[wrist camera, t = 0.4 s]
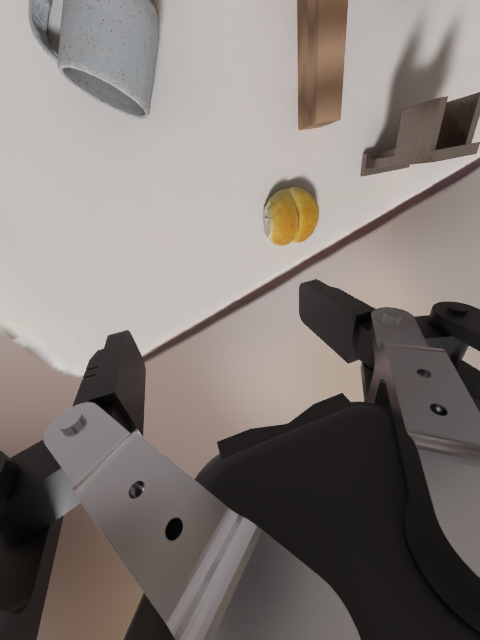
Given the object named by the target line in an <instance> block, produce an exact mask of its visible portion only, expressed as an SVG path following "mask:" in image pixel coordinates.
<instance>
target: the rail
mask: <svg viewBox="0 0 480 640" xmlns="http://www.w3.org/2000/svg"><path fill="white" fill-rule="evenodd" d="M347 8H348V0H297V20H298V126H299V130H304V129H311V128H318V127H322V126H325V125H328V124H330V123H333V122H336V121H338V120H340V118H341V103H342V87H343V71H344V56H345V40H346V24H347Z"/></svg>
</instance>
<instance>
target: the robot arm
mask: <svg viewBox="0 0 480 640" xmlns="http://www.w3.org/2000/svg"><path fill="white" fill-rule="evenodd" d="M299 314H300V317H301V320H302V321H303V323H304V324H305V325H306V326H308V327H309V328H310V329H311V330H312V331H313V332H314V333H315V334H316V335H317V336H319V337H320V338H321V339H322V340H323V341H324V342H325V343H326V344H327V345H328V346H329V347H331V348H332V349H333V350H334V351H335V352H336V353H337V354H338V355H339V356H341V357H342V358H343V359H344V360H345V361H346V362H347V363H351V362H354V361H356V360H361V361H362V363H361V375H362V385H363V394H364V402H350V401H349V400H348V399H347V398H346V397H345V396H344V394H343V393H341V394H339V395H336V396H333V397H331V398H329V399H326V400H323V401H321V402H318V403H316V404H314V405H312V406H311V407H310V408H308V409H307V410H306V411H304V412H303V413H302V414H300V415H299V416H298V417H297V418H295V419H294V420H292V421H291V422H290V423H288V424H284V425H277V426H269V427H262V428H254V429H249V430H247V431H244V432H241V433H239V434H237V435H234V436H232V437H229V438H227V439H224V440H221V441H219V442H217V444H218V448H219V452H220V453H219V454H218V455H217V456H215V457H214V458H213V459H212V460H211V461H210V462H209V463H208V464H206V466H205V467H204V468H203V469H202V470H201V471H200V473H199V474H198V475H197V477H196V478H195V479H193V478H192V477H191V476H189V475H188V474H187V473H186V472H185V471H183V470H182V469H181V468H180V467H178V466H177V465H176V464H175V463H174V462H172V461H171V460H170V459H169V458H168V457H166V456H165V455H164V454H163V453H161V452H160V451H159V450H158V449H157V448H155V447H154V446H153V445H152V444H151V443H149V442H148V441H147V440H146V439H144V438H143V424H144V400H145V376H146V369H145V364H144V361H143V358H142V356H141V354H140V352H139V350H138V348H137V345H136V343H135V341H134V339H133V337H132V335H131V333H130V332H129V331H128V330H126V331H123V332H119V333H115V334H111V335H109V336H108V337H107V341H106V344H105V347H104V349H102V350H98V351H97V352H96V353H95V355H94V356H93V357H92V358H91V359H90V360H89V363H88V366H87V368H86V371H85V374H84V377H83V378H84V379H83V380H82V382H81V385H80V388H79V390H78V393H77V396H76V398H75V401H74V404H73V407H71V408H69V409H67V410H66V411H64V412H63V413H61V414H60V415H59V416H58V417H57V418H56V419H55V420H54V421H53V422H52V423H51V424H50V425H49V427H48V428H47V430H46V432H45V435H44V438H43V440H42V441H40V442H38V443H36V444H35V445H33V446H31V447H29V448H27V449H26V450H24V451H22V452H20V453H19V454H17V455H15V456H13V457H11V458H10V457H8V456H7V455H6V454H4V453H3V452H2V451H0V640H36V638H37V634H38V630H39V625H40V621H41V616H42V612H43V607H44V603H45V598H46V594H47V589H48V584H49V580H50V575H51V571H52V566H53V562H54V557H55V553H56V548H57V543H58V539H59V535H60V530H61V526H62V521H63V516H64V514H66V513H67V512H68V511H70V510H71V509H72V508H74V507H75V506H77V505H78V504H79V503H82V505H83V506H84V507H85V509H86V510H87V512H88V513H89V515H90V516H91V517H92V519H93V520H94V522H95V523H96V525H97V526H98V528H99V529H100V530H101V532H102V533H103V535H104V536H105V538H106V539H107V540H108V542H109V543H110V545H111V546H112V547H113V549H114V550H115V552H116V553H117V555H118V556H119V558H120V559H121V560H122V562H123V563H124V565H125V566H126V568H127V569H128V570H129V572H130V573H131V575H132V576H133V578H134V579H135V580H136V581H137V583H138V585H139V586H140V587H141V589H142V590H143V592H144V593H143V596H142V598H141V600H140V603H139V605H138V607H137V610H136V612H135V614H134V617H133V619H132V621H131V624H130V626H129V628H128V631H127V633H126V635H125V638H124V640H480V371H479V370H477V369H476V368H474V367H472V366H471V365H469V364H468V363H466V362H464V361H462V358H463V356H464V354H465V352H466V350H467V348H468V346H471V347H473V348H475V349H477V350H478V351H480V309H477V308H475V307H473V306H470V305H467V304H462V303H458V302H439V303H436V304H434V305H433V307H432V310H431V313H430V315H429V316H418V317H414V316H413V315H411V314H410V313H409V312H407V311H404V310H401V309H397V308H389V307H384V308H378V309H375V308H373V307H370V306H369V305H367V304H366V303H364V302H362V301H360V300H358V299H356V298H354V297H353V296H351V295H349V294H348V295H347V293H345V292H344V291H342V290H340V289H338V288H334V287H330V286H328V285H326V284H324V283H322V282H321V281H319V280H317V279H315V280H312V281H308V282H304V283H301V285H300V287H299Z"/></svg>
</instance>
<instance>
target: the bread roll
mask: <svg viewBox="0 0 480 640" xmlns="http://www.w3.org/2000/svg"><path fill="white" fill-rule="evenodd" d="M318 218H319V207H318V204H317V202H316V200H315V199H314V197H313V196H312V195H311V194H310V193H309V192H307V191H306V190H304V189H302V188H299V187H290V188H287V189H282V190H280V191H278V192H276V193H275V194H274V195H273V196H271V197H270V199H269V200H268V202H267V204H266V206H265V208H264V228H265V234H266V236H267V237H268V238H269V239H270V240H271V241H272V242H273V243H274V244H277V245H287V244H289V243H290V242H291V241H293V242H302V241H304V240H306V239H307V238H308V237H309V236H310V235H311V234H312V233H313V231H314V229H315V227H316V225H317V222H318Z"/></svg>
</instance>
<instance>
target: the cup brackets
mask: <svg viewBox="0 0 480 640" xmlns="http://www.w3.org/2000/svg"><path fill="white" fill-rule="evenodd" d="M447 98H448V97H441V98H438V99H434V100H431V101H428V102H425V103H422V104H419V105H416V106H413V107H410V108H407V109H404V110H402V113H401V119H400V125H399V131H398V137H397V143H396V148H394V149H389V150H383V151H377V152H372V153H366V154H363V159H362V168H361V176H366V175H372V174H377V173H382V172H387V171H392V170H397V169H402V168H407V167H409V165H410V164H418V163H428V162H436V161H441V160H446V159H451V158H456V157H462V156H467V155H472V154H476V153H477V150H478V147H479V144H480V142H477V143H471V142H472V139H473V136H474V132H475V129H476V126H477V122H478V119H479V116H480V92H479V93H476V94H473V95H469V96H466V97H463V98H460V99H456V100H453V101H450V102H447Z"/></svg>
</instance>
